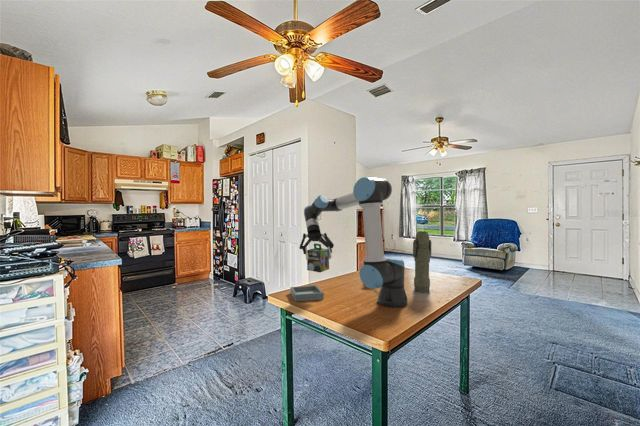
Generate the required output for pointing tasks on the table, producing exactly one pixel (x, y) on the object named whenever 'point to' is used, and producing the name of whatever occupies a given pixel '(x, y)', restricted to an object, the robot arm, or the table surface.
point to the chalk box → (318, 259)
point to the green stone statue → (422, 261)
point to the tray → (306, 293)
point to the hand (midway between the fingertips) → (319, 258)
